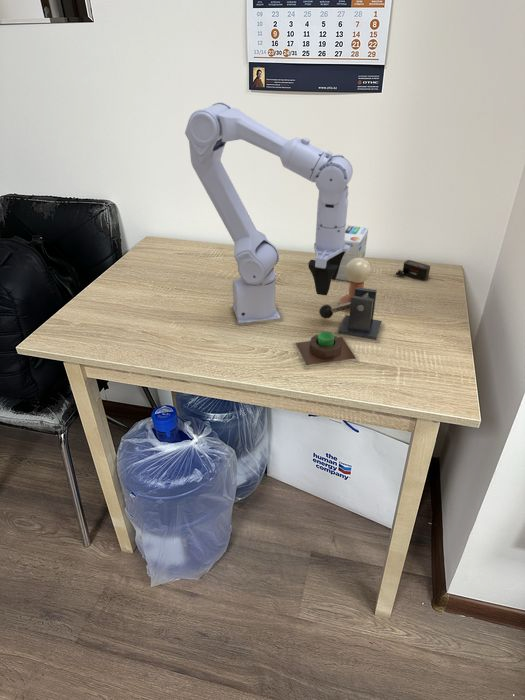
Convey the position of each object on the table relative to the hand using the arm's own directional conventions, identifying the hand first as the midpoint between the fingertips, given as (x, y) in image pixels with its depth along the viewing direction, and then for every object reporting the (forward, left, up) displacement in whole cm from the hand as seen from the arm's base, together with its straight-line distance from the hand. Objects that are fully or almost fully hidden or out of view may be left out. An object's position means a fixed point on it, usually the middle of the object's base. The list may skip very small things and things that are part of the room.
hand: (326, 286), depth 108 cm
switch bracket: (+7, -4, -9) cm, 12 cm away
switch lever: (+4, -3, -6) cm, 7 cm away
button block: (-3, -11, -9) cm, 14 cm away
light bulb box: (+14, +24, -9) cm, 29 cm away
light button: (-3, -11, -7) cm, 13 cm away
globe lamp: (+9, +6, -9) cm, 14 cm away
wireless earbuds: (+29, +18, -9) cm, 36 cm away
